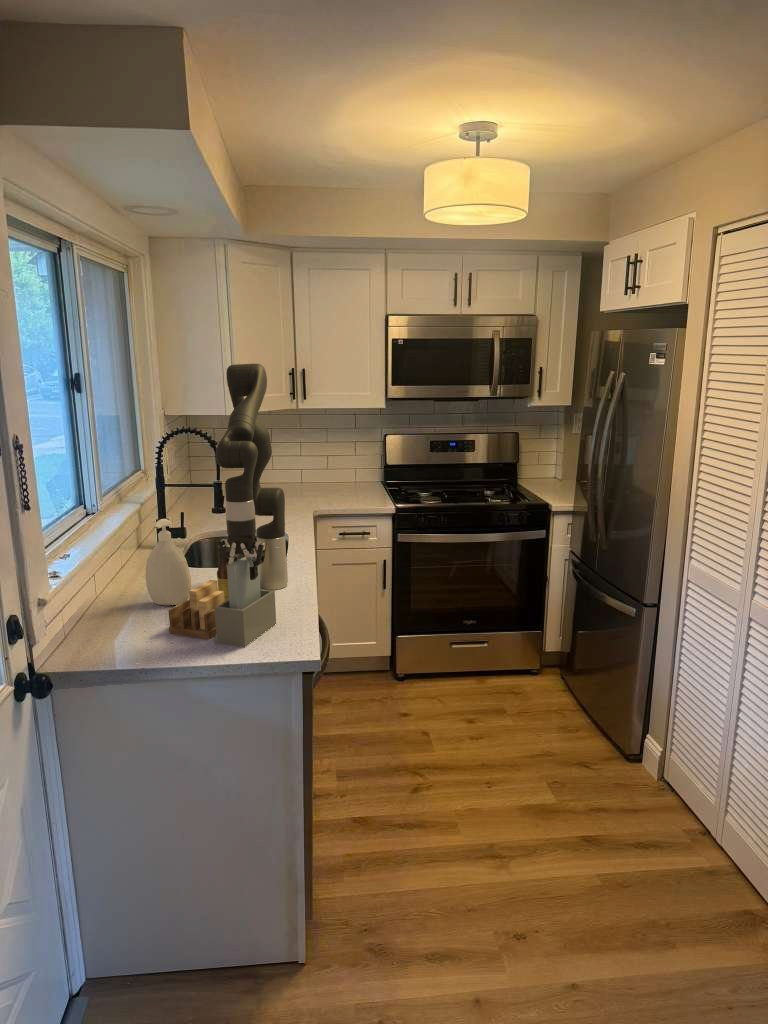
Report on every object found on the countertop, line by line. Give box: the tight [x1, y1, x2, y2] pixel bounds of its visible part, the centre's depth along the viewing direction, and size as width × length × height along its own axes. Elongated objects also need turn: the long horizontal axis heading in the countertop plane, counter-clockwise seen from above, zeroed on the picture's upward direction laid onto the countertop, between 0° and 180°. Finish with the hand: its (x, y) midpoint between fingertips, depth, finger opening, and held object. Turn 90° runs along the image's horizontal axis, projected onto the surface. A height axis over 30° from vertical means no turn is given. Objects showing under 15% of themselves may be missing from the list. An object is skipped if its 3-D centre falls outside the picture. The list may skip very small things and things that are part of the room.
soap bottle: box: [145, 518, 192, 607], centre depth 202 cm, size 14×8×27 cm, turn 81°
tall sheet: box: [227, 553, 261, 610], centre depth 179 cm, size 12×2×20 cm, turn 160°
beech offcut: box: [198, 591, 225, 630], centre depth 183 cm, size 9×2×8 cm, turn 160°
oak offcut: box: [189, 579, 218, 625], centre depth 186 cm, size 10×2×10 cm, turn 160°
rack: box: [167, 598, 216, 640], centre depth 185 cm, size 14×13×7 cm
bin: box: [214, 588, 277, 648], centre depth 180 cm, size 17×9×10 cm, turn 160°
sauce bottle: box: [216, 545, 231, 601], centre depth 199 cm, size 7×6×20 cm
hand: (244, 578), depth 178 cm, fingers open, 5 cm apart
